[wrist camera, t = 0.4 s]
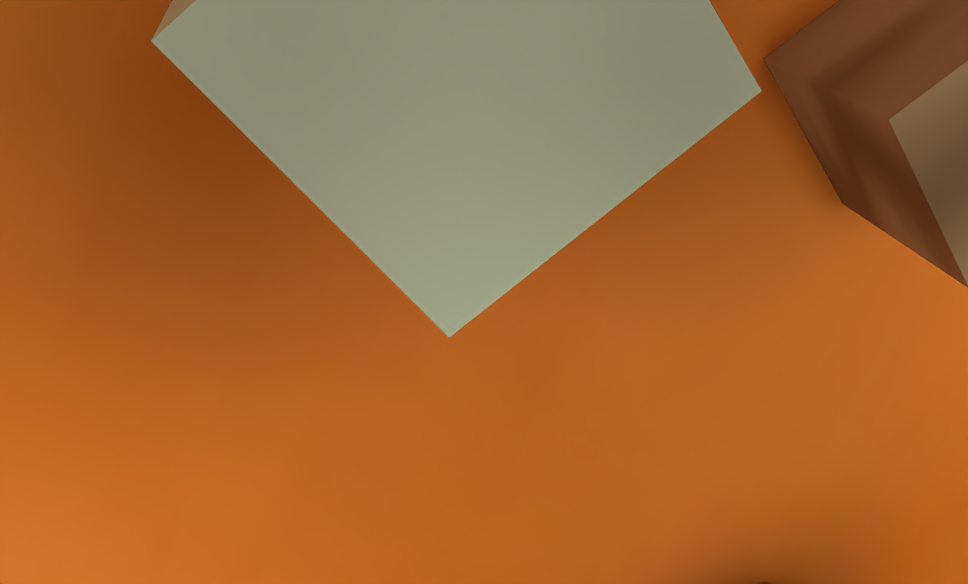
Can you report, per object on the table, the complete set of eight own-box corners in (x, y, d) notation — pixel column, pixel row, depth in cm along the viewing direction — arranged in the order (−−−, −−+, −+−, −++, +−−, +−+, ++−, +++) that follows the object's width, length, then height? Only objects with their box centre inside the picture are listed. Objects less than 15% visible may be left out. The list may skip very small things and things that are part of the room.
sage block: (679, 45, 21) (762, 90, 17) (420, 255, 22) (449, 337, 18) (477, -280, 17) (532, -306, 13) (172, -2, 18) (151, 41, 14)
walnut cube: (1000, 83, 23) (1170, 145, 18) (840, 202, 23) (968, 288, 19) (938, -80, 20) (1119, -53, 16) (761, 58, 21) (888, 119, 17)
